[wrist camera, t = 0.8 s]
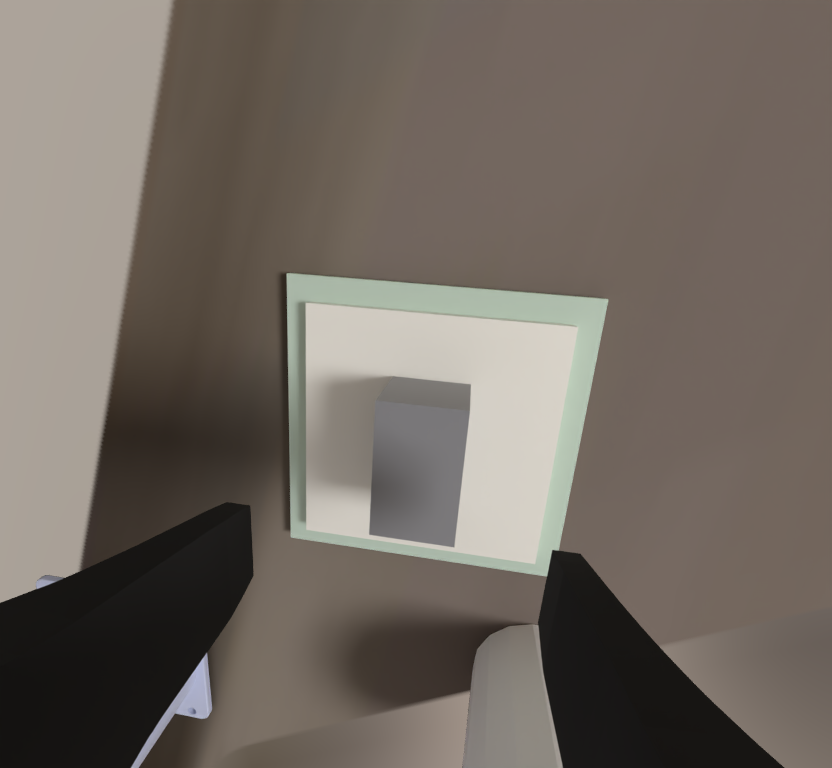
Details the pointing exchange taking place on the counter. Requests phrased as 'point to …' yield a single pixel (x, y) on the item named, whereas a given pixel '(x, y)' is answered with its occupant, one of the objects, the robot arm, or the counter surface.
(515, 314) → the mat
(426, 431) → the lid
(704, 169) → the counter surface
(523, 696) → the shot glass
